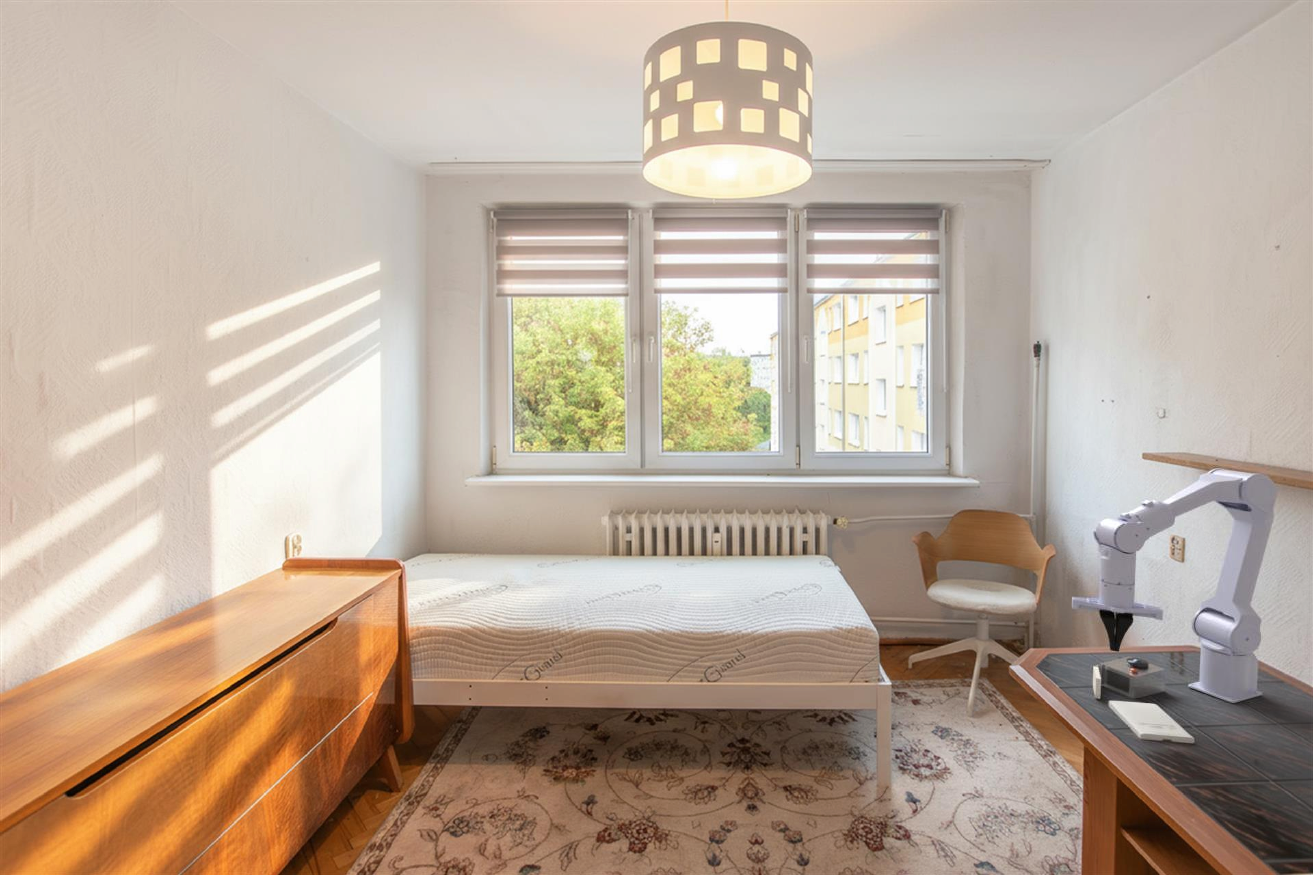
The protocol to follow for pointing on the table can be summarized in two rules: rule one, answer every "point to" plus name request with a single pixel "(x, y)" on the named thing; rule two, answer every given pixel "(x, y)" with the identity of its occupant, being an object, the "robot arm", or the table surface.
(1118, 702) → the external hard drive
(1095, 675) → the side door
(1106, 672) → the camera body
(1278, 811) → the table surface
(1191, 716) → the table surface
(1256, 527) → the robot arm
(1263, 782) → the table surface
